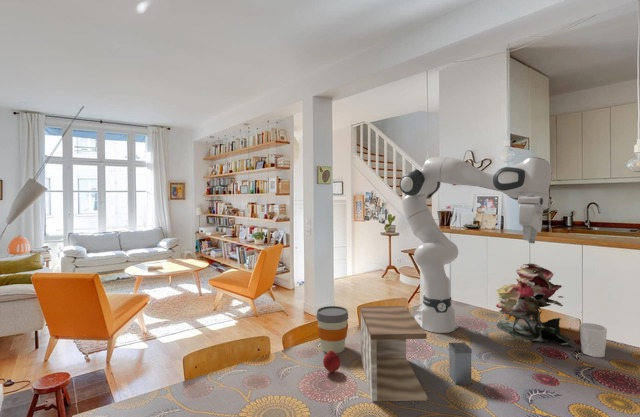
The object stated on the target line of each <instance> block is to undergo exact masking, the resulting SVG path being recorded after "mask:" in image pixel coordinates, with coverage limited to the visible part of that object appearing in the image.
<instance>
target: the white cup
mask: <svg viewBox="0 0 640 417" xmlns="http://www.w3.org/2000/svg"><path fill="white" fill-rule="evenodd" d="M607 329H608V328H607V327H605V326H603V325H601V324H597V323H593V322H592V323H591V322H582V323H579V337H580V345H581V352H582V353H583V354H584V355H587V356H589V357H593V358H604V357H605V356H606V355H605V354H606V348H607V347H606V346H607V332H608V330H607Z"/></svg>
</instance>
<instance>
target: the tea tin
mask: <svg viewBox="0 0 640 417" xmlns="http://www.w3.org/2000/svg"><path fill="white" fill-rule="evenodd" d="M448 347H449V348H448V349H449V355H448V358H449V359H448V360H449V361H448V362H449V365H448V366H449V368H448V370H449V377H450V379H451V380H452V381H453V383H454V385H471V384H472V352H473V351H472V350H473V349H472V348H471V347H470V346H469V345H468V344H467V343H466V342H449V343H448Z"/></svg>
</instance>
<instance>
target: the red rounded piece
mask: <svg viewBox="0 0 640 417" xmlns="http://www.w3.org/2000/svg"><path fill="white" fill-rule="evenodd" d="M322 360H323V361H322V362H323V363H322V364H323V366H324V368H325V370H326V371H328V372H329V373H330V374H334V373H335V372H337V370H339V368H340V367H341V358H340V356H339V355H338V353H335V352H334V351H333V350H332V349H330V352H328V353H326V354H325V355H324V357H323V359H322Z"/></svg>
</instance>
